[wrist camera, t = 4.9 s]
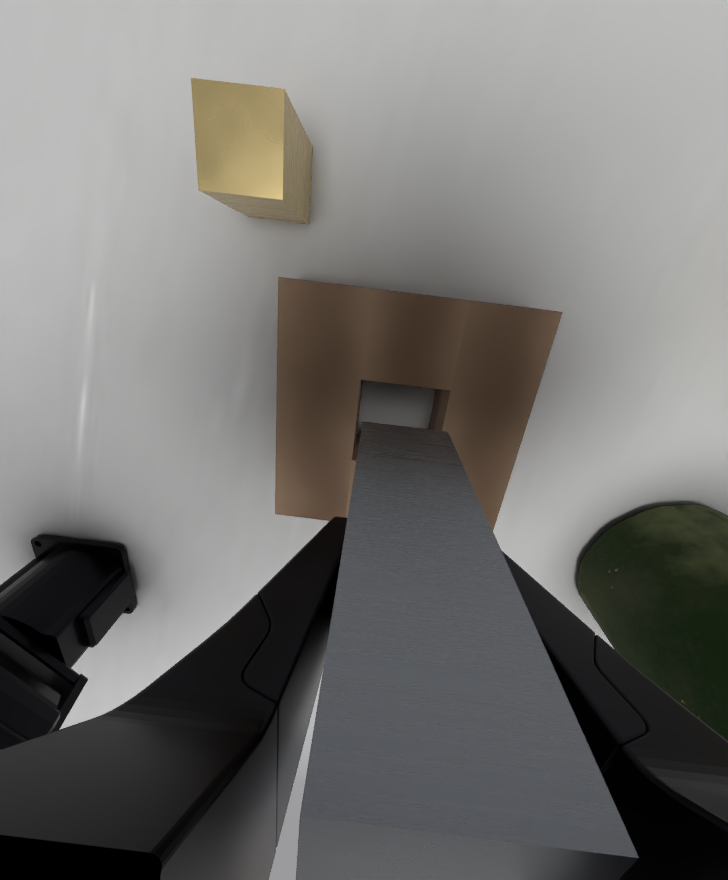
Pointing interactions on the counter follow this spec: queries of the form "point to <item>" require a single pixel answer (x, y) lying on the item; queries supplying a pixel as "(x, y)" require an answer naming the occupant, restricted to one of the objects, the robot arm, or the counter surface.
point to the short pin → (252, 150)
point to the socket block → (399, 362)
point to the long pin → (442, 699)
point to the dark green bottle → (667, 602)
